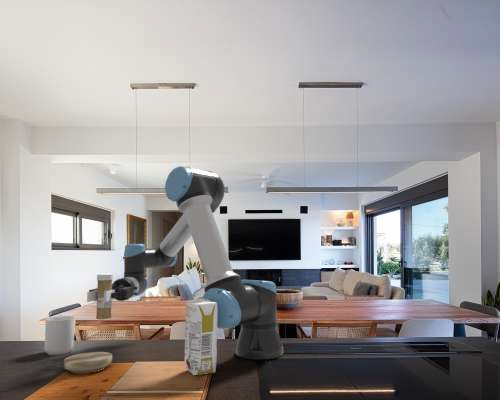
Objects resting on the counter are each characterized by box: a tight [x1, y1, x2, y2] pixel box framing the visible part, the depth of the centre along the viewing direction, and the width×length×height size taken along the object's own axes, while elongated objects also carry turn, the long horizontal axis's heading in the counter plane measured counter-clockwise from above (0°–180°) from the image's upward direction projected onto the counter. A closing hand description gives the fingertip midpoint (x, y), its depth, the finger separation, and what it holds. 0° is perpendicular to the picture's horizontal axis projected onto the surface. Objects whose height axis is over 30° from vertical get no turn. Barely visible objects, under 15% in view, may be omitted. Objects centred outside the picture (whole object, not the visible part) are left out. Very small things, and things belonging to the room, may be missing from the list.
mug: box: [44, 315, 76, 356], centre depth 139 cm, size 12×9×11 cm
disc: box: [63, 351, 113, 375], centre depth 117 cm, size 13×13×3 cm
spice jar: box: [95, 272, 114, 320], centre depth 125 cm, size 5×5×14 cm
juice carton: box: [183, 298, 218, 376], centre depth 113 cm, size 8×9×19 cm
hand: (96, 297), depth 119 cm, fingers closed on spice jar, 4 cm apart
